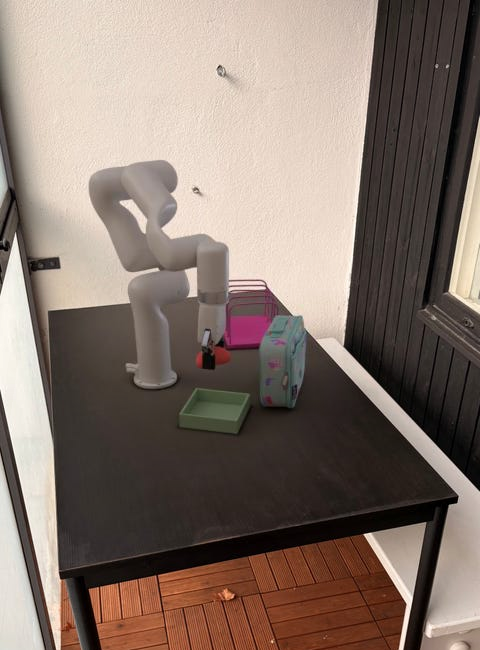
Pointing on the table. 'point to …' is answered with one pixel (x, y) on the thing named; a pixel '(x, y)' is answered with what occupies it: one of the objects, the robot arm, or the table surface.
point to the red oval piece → (216, 357)
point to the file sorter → (248, 321)
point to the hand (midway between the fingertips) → (213, 361)
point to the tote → (215, 410)
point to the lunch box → (282, 361)
